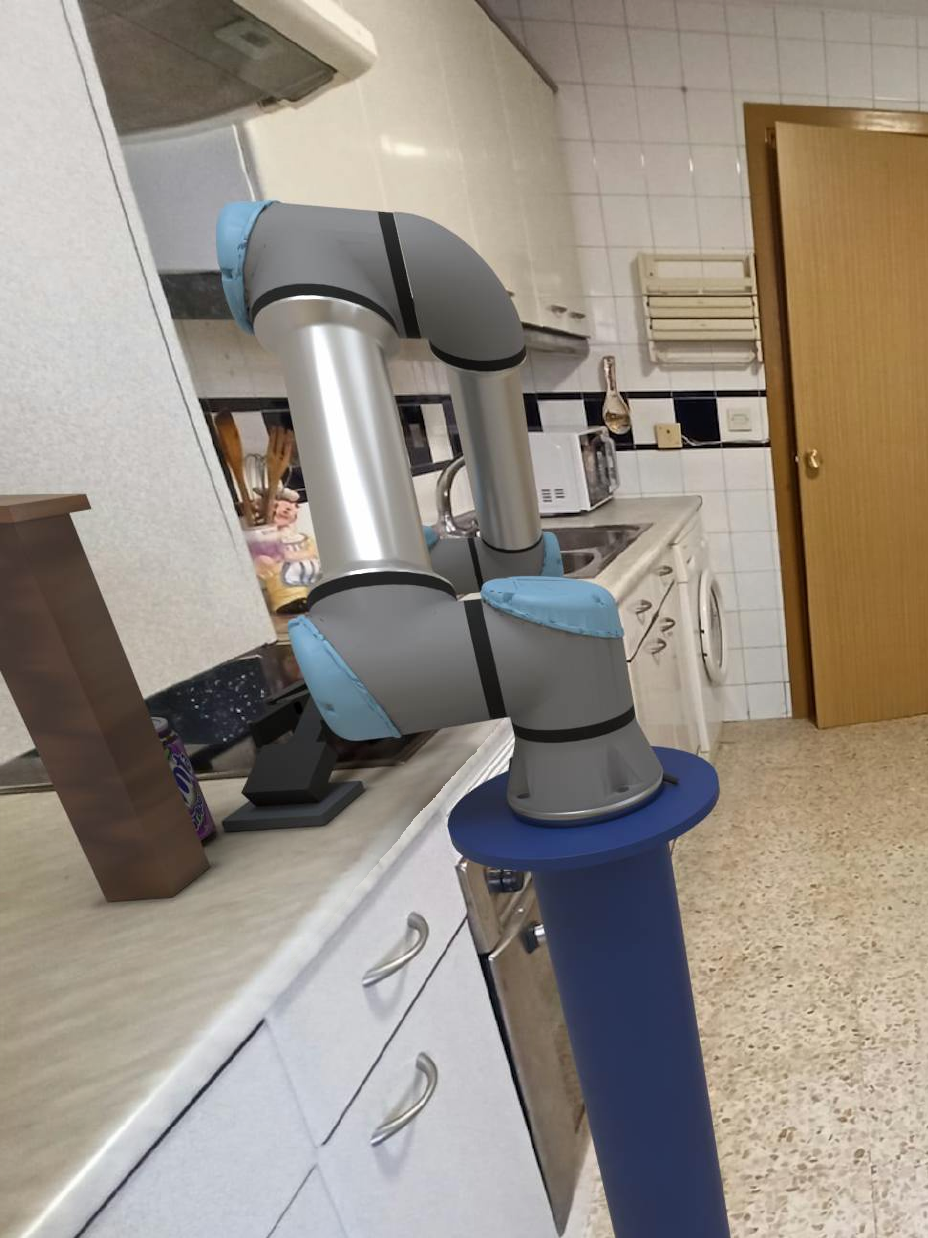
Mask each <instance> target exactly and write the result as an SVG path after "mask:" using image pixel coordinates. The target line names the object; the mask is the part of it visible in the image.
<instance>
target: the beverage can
mask: <svg viewBox="0 0 928 1238" xmlns="http://www.w3.org/2000/svg"><path fill="white" fill-rule="evenodd" d="M151 719H152V721H153V724H154V726H155V729H156V731H157V734H158V736H159V739H160V741H161V744H162V746H163V749H164V751H165V754H166V756H167V759H168V761H169V764H170V766H171V769H172V771H173V774H174V776H175V779H176V781H177V784H178V786H179V789H180V791H181V794H182V796H183V799H184V801H185V804H186V806H187V809H188V811H189V814H190V816H191V819H192V821H193V824H194V826H195V829H196V831H197V834H198V836H199V839H200V841H201V842H202V841H203V840H204V839H205V838H207V837H208V836H210V835H211V834H212V833H213V832H214V831H215V829H216V824H215V821H214V818H213V815H212V813H211V810H210V808H209V806H208V803H207V801H206V798H205V795H204V793H203V791H202V788H201V786H200V783H199V780H198V778H197V775H196V773H195V770H194V767H193V765H192V762H191V760H190V757H189V755H188V752H187V749H186V747H185V745H184V742H183V740H182V738H181V736H180V735H179V733H177V732H176V731H175V730H173V729H172V728H171V727H170V726H169V722H168V720H167V719H166V718H164V717H159V716H158V717H157V716H151Z"/></svg>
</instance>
